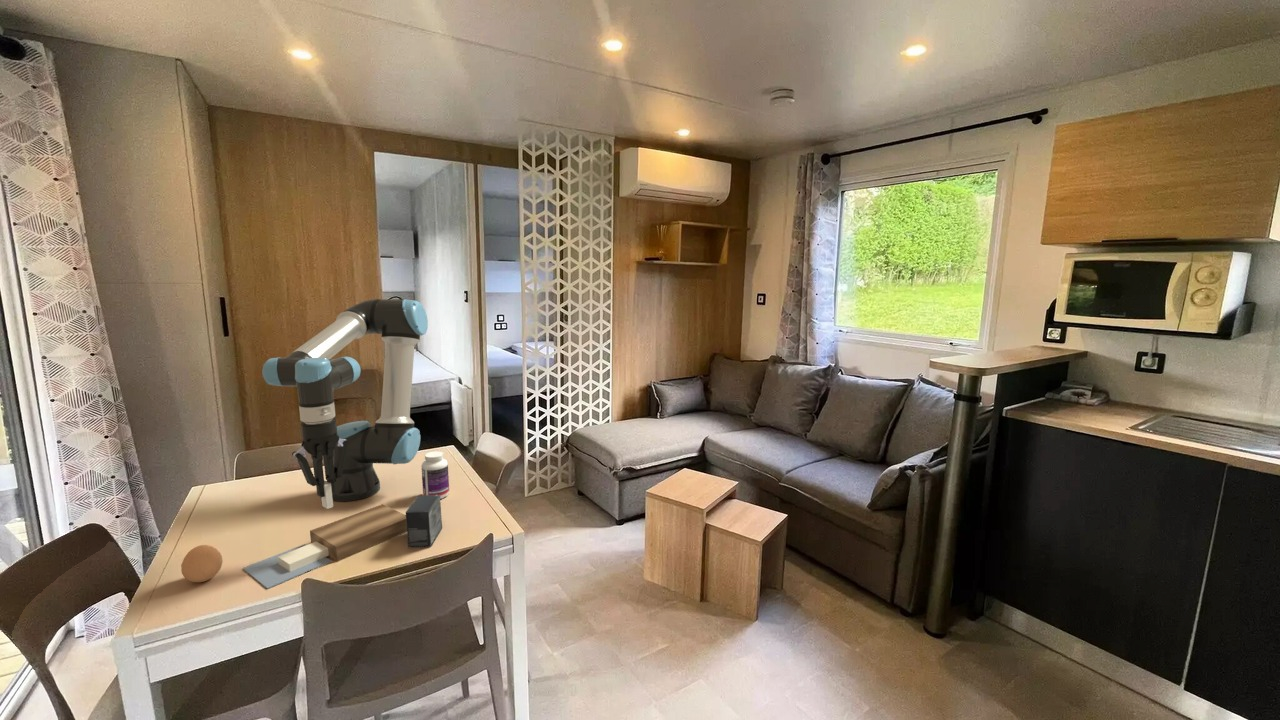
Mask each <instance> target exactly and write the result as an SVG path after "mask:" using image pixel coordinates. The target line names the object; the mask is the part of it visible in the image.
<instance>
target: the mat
mask: <svg viewBox="0 0 1280 720" xmlns="http://www.w3.org/2000/svg"><path fill="white" fill-rule="evenodd" d="M306 545H307V544H306V543H304V544H301V545H299V546H296V547H294V548H291V549H288V550H286V551H283V552H280V553H278V554H275V555H272V556H270V557H268V558H264V559H262V560H260V561H257V562H254V563H252V564H250V565H246V566H245V567H242V570H244V572H246V573H247V574H248V575H250V576H251V577H252V578H253V577H254V580H255V581H256V582H258V583H259V582H260V583H259V584H261V585H262V586H263V587H264V588H265V587H266V588H265V589H267V590H269V589H272V588H274V587H276V586H279V585H282V584H283V582H284V583H286V582H288V581H291V580H292V578H293V579H295V578H298V577H299V575H300V576H302V575H304V574H303V573H305V572H307V571H309V572H311V571H310V570H312V571H314V570H316V569H318V567H319V568H321V567H323V566H325V564H326V565H328V564H330V563H332V560H331V559H329V558H327V556H326V557H324V558H322V559H319V560H317V561H315V562H312V563H310V564H308V565H305V566H303V567H301V568H298V569H296V570H294V571H291V572H290V571H288V570H287V569H285V568H284V567H282V566H281V565H279V563H278V556H281V555H283V554H286V553H288V552H291V551H293V550H296V549H298V548H301V547H303V546H306ZM315 568H316V569H315ZM313 569H314V570H313ZM307 573H308V572H307ZM301 574H302V575H301ZM305 574H306V573H305ZM297 576H298V577H297ZM294 577H295V578H294ZM290 579H291V580H290ZM285 581H286V582H285ZM278 584H279V585H278Z"/></svg>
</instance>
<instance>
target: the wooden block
mask: <svg viewBox="0 0 1280 720" xmlns="http://www.w3.org/2000/svg"><path fill="white" fill-rule="evenodd" d="M405 533H407V524H406V514H404V513H402V512H400V511H398V510H396V509H393V508H392V507H390V506H388V505H386V504H384V503H381V504H379V505H376V506H374V507H370V508H368V509H365V510H363V511H360V512H356V513H354V514H351V515H349V516H347V517H343V518H341V519H338V520H334V521H333V522H331V523H327V524H325V525H321V526H319V527H316V528H313V529H311V530H309V535H310V544H311V543H313V542H316V541H317V542H318V543H320V544H322V545H324V546H325V547H327V548H328V551H329V556H328V557H329V558H331V559H333V560H334V561H336V562H341V561H342V560H345V559H348V558H349V557H351V556H354V555H356V554H358V553H361V552H363V551H365V550H369V549H370V548H372V547H375V546H377V545H380V544H381V543H384V542H386V541H389V540H391V539H394V538H396V537H398V536H401V535H403V534H405Z"/></svg>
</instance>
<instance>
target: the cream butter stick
mask: <svg viewBox="0 0 1280 720" xmlns="http://www.w3.org/2000/svg"><path fill="white" fill-rule="evenodd" d="M324 557H326V558H327V557H330V556H329V551H328V548H327V547H325V546H324V545H322V544H320V543H318V542H317V541H316V542H313V543H311V542H310V543H309V544H306V546H303V547H301V548H298V549H296V550H293V551H291V552H288V553H286V554H283V555H281V556H278V563H279V565H281V566H282V567H284V568H285V569H287V570H288V571H290V572H291V571H294V570H296V569H298V568H301V567H303V566H305V565H308V564H310V563H312V562H315V561H317V560H319V559H322V558H324Z"/></svg>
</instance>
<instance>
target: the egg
mask: <svg viewBox="0 0 1280 720" xmlns="http://www.w3.org/2000/svg"><path fill="white" fill-rule="evenodd" d="M222 565H223V557H222V554H221V552H220V551H219V550H218V549H217V548H216V547H214V546H212V545H209V544H208V545H207V544H201V545H197V546H195V547H193V548H192V549H190V550H189V551H188V552H187V554H185V556H184V558H183V559H182V563H181V570H180V571H181V574H182V576H183V577H184V578H185V579H186V580H187V581H190V582H192V583H204V582H207V581H209V580H212V579H213V578H214V577H215V576H216V575H217V574H218V573H219V571H220V570H221V568H222Z"/></svg>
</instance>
